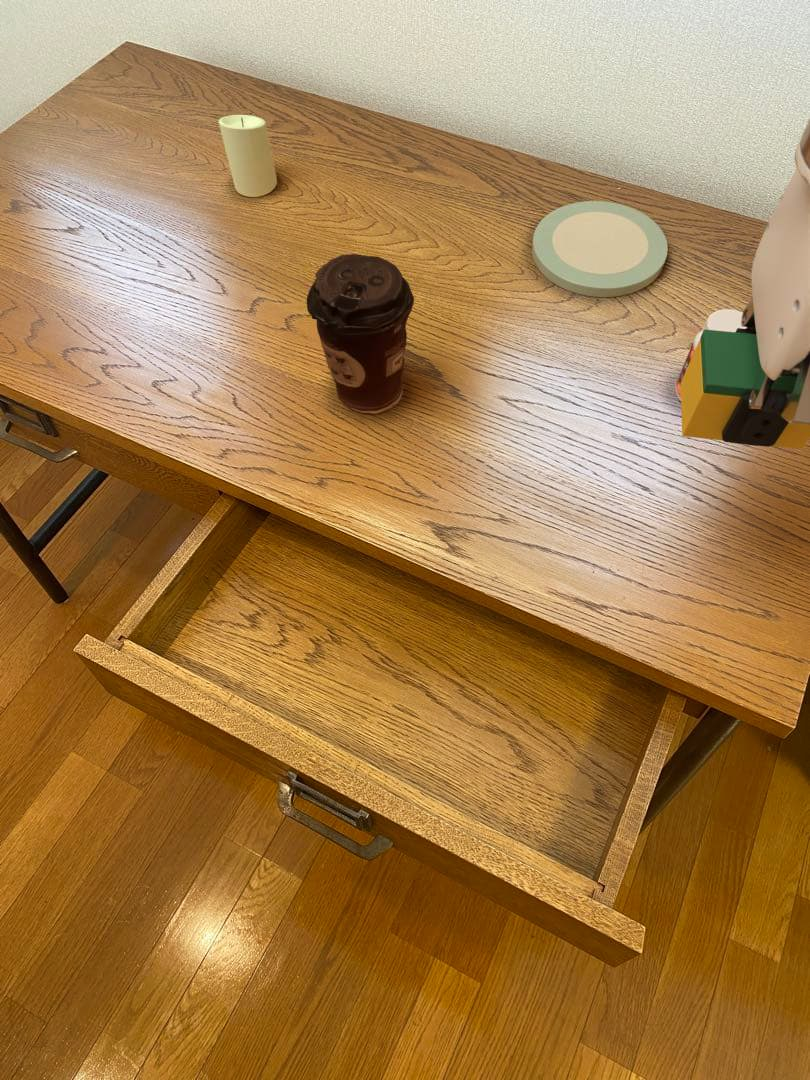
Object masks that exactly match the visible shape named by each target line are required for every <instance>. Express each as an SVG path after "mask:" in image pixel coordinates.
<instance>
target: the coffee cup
mask: <svg viewBox="0 0 810 1080" xmlns="http://www.w3.org/2000/svg"><path fill="white" fill-rule="evenodd" d="M314 277H315V279H314V281H313V283H312V285H311V286H310V289H309V291H308V293H307V297H306V310H307V312H308V314H309V315H310V317H311V318H312V320H316V331H317V334H318V337H319V340H320V344H321V348H322V351H323V354H324V358H325V360H326V364H327V368H328V370H329V373H330V375H331V377H332V379H333V382H334V383H335V389H336V390H335V391H336V394H337V397H338V399H339V401H340V402H341V403H342V404H343V405H344V406H346V407H348V408H349V409H350V410H353V411H355V412H359V413H362V414H375V415H378V414H381V413H383V412H384V411H387V410H390V409H392V408H393V407H394V406H395V405H398V403H399V401H400V400H401V399H402V397H403V379H402V377H403V373H404V365H405V357H404V356H405V355H404V352H405V350H406V347H407V340H408V336H407V335H408V332H407V328H406V327H407V322H408V319H409V316H410V314H411V313H412V310H413V306H414V305H415V297H414V294H413V292H412V289H411V287H410V284H409V282H408V281H407V280H406V278H404V276H403V275H402V272H401V270H400V269H399V268H398V267H397V265H395V264H394V263H392V262H390V261H389V260H387V259H384V258H382V257H379V256H377V255H376V256H374V255H364V254H356V253H350V254H349V253H347V254H341V255H339V256H337V257H333V258H332V259H330V260H328V261H327V263H325V264H323V265H322V266H321V267H320V268H319V269H318V270H317V271H316V273H315V275H314Z"/></svg>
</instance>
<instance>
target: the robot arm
mask: <svg viewBox="0 0 810 1080" xmlns="http://www.w3.org/2000/svg"><path fill="white" fill-rule="evenodd" d="M794 161H795V167H796V168H795V170H794V172H793V174H792V176H791V178H790V180H789V181H788V183H787V185H786V186H785V189H784V191H783V193H782V195H781V197H780V199H779V201H778V203H777V204H776V207H775V208H774V211H773V212H772V215H771V217H770V218H769V221H768V223H767V226H766V228H765V230H764V232H763V234H762V236H761V239H760V241H759V244H758V246H757V249H756V252H755V254H754V257H753V260H752V266H751V279H750V281H751V293H752V296H751V299H749V302H748V303H747V304H746V305H745V307H744V309H743V311H742V313H743V314H742V319H741V325H742V327H747V328H746V329H742V328H737V330H736V332H737V333H747V334H756V335H757V343H758V351H759V358H760V363H761V370H760V372H759V375H758V377H757V379H756V382H755V384H754V386H753V389H752V391H751V394H745V393H743V395H742V397H741V398H740V400H739V402H738V404H737V406H736V407H735V409H734V411H733V413H732V415H731V416H730V418H729V420H728V422H727V424H726V426H725V427H724V429H723V431H722V440H723V442H724V443H727V444H728V443H729V444H737V445H740V444H741V445H746V446H754V447H766V448H767V447H773V446H772V445H774V444H775V443H776V441H777V440H778V438H779V437H780V435H781V434H782V432H783V431H784V429H785V428H786V426H787V425H788V423H796V424H806V425H810V118H809V119H808V121H807V123H806V126H805V128H804V130H803V131H802V134H801V137H800V139H799V141H798V143H797V145H796V148H795V152H794ZM782 375H783V376H793V377H797V380H796V383H795V387H794V389H793V391H792V392H790V391H780V390H771V387H772V385H773V382H774V380H776V379H777V378H778V377H781V376H782ZM722 440H721V441H722Z"/></svg>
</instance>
